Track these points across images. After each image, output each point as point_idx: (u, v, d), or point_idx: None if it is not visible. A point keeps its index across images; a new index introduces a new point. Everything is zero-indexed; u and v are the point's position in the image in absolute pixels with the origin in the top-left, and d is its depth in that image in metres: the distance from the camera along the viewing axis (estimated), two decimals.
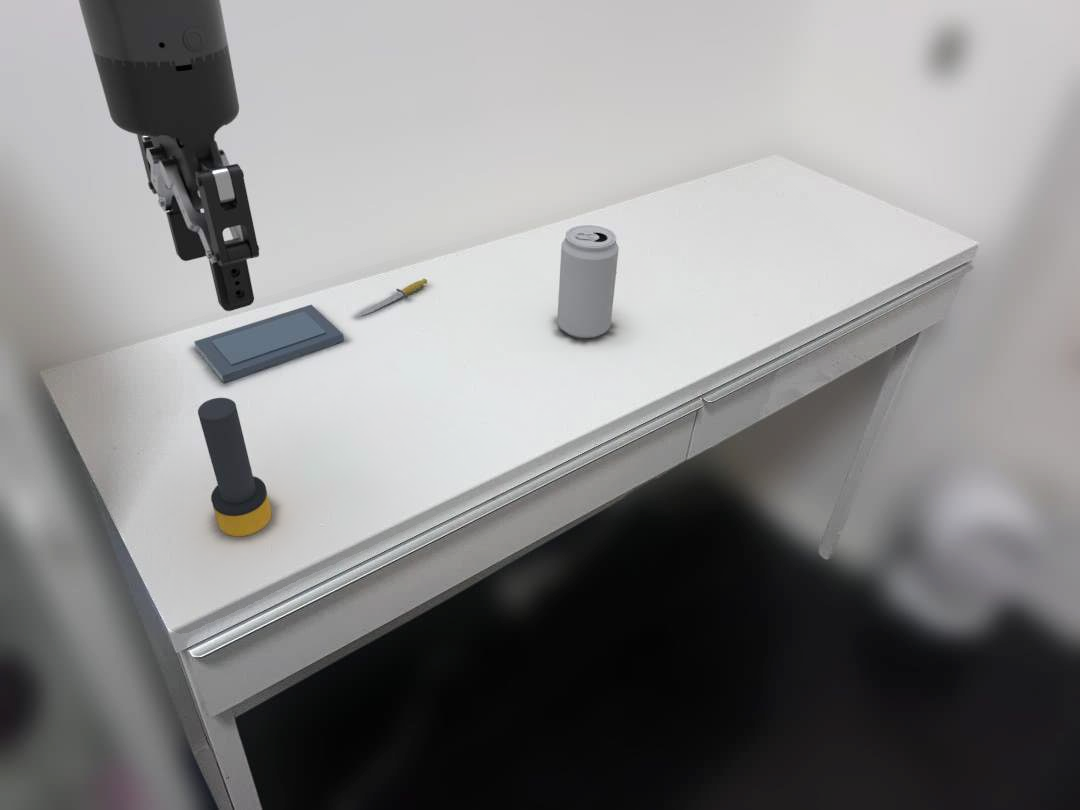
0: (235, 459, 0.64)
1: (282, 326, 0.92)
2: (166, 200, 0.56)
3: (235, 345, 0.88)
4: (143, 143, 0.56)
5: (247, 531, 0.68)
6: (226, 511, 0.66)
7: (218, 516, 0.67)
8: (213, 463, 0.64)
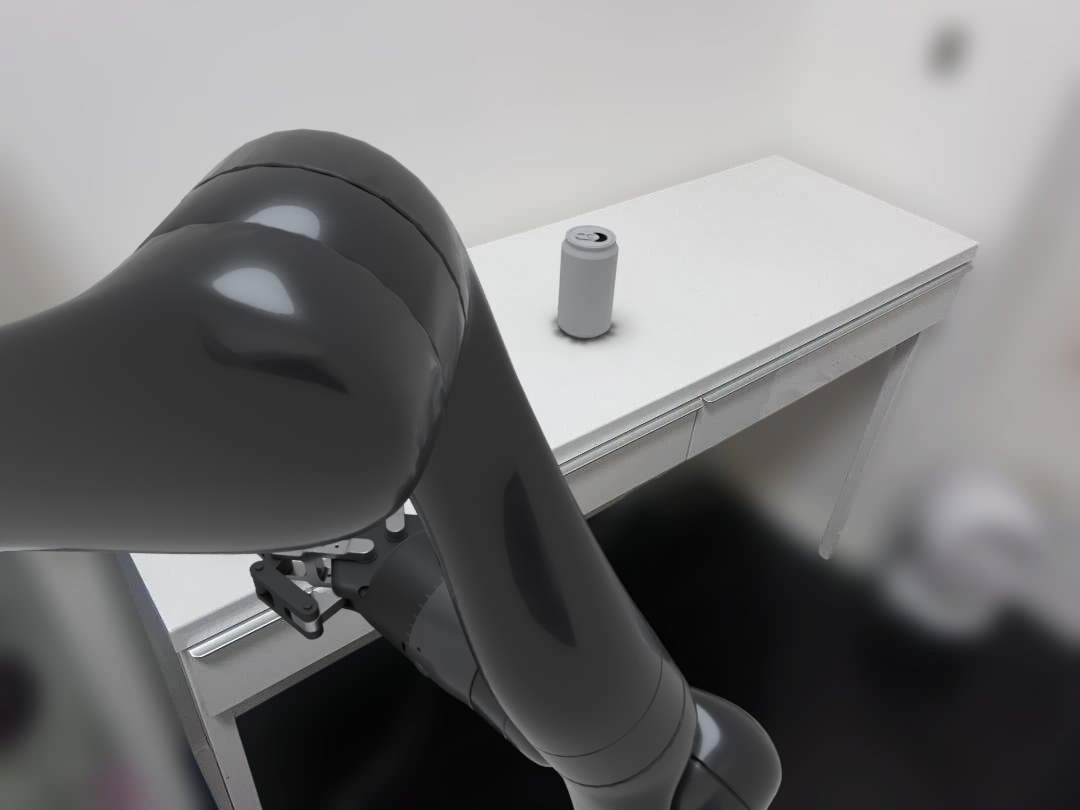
0: None
1: None
2: None
3: None
4: None
5: None
6: None
7: None
8: None
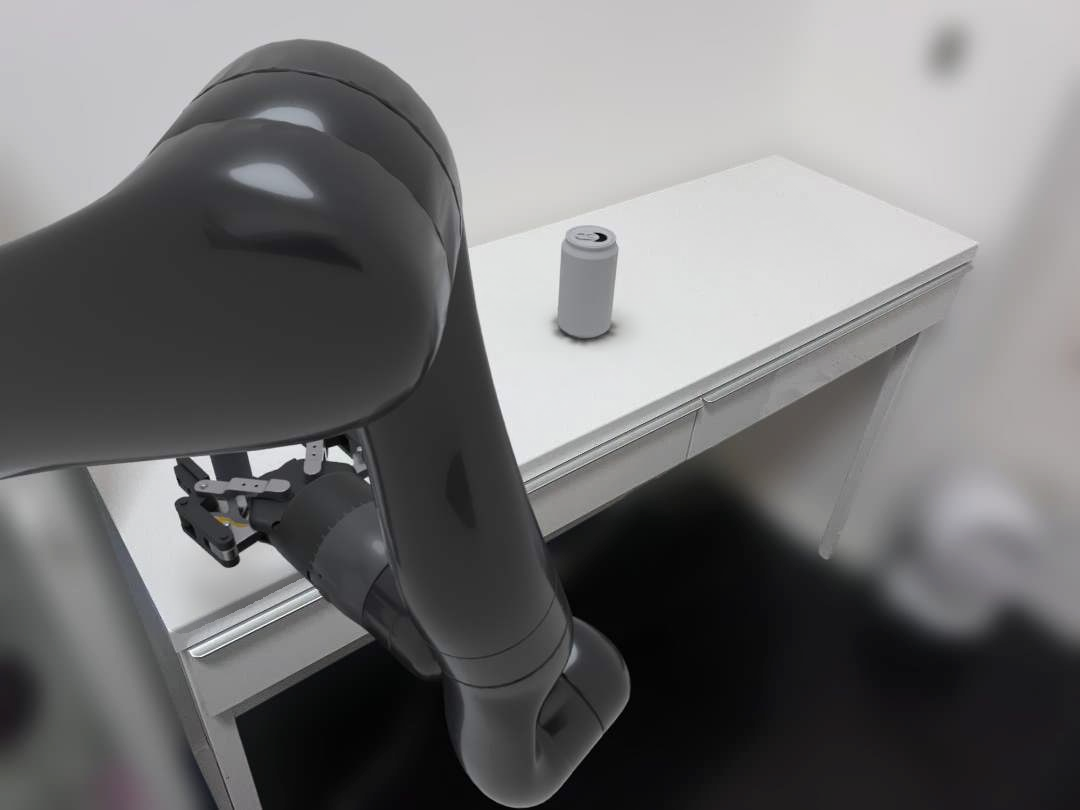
0: (235, 459, 0.64)
1: None
2: None
3: None
4: (359, 444, 0.61)
5: None
6: None
7: None
8: (213, 463, 0.64)
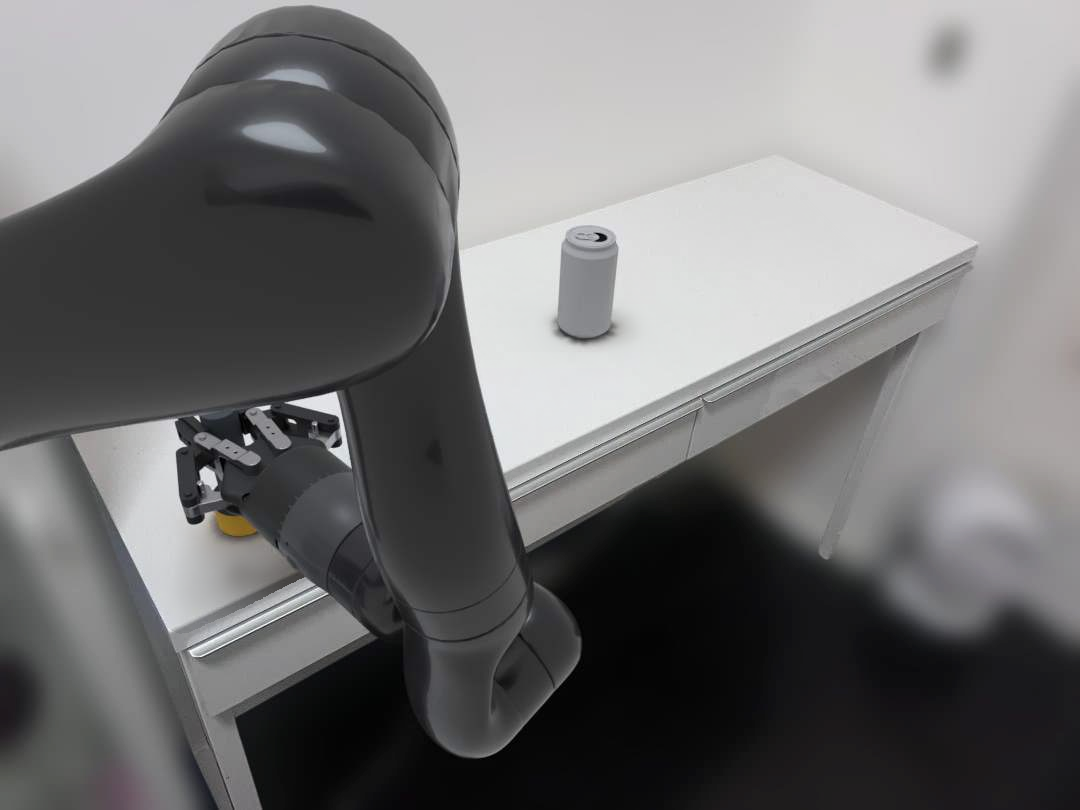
0: None
1: None
2: (252, 424, 0.62)
3: None
4: (311, 420, 0.63)
5: (247, 531, 0.68)
6: (226, 511, 0.66)
7: (218, 516, 0.67)
8: None
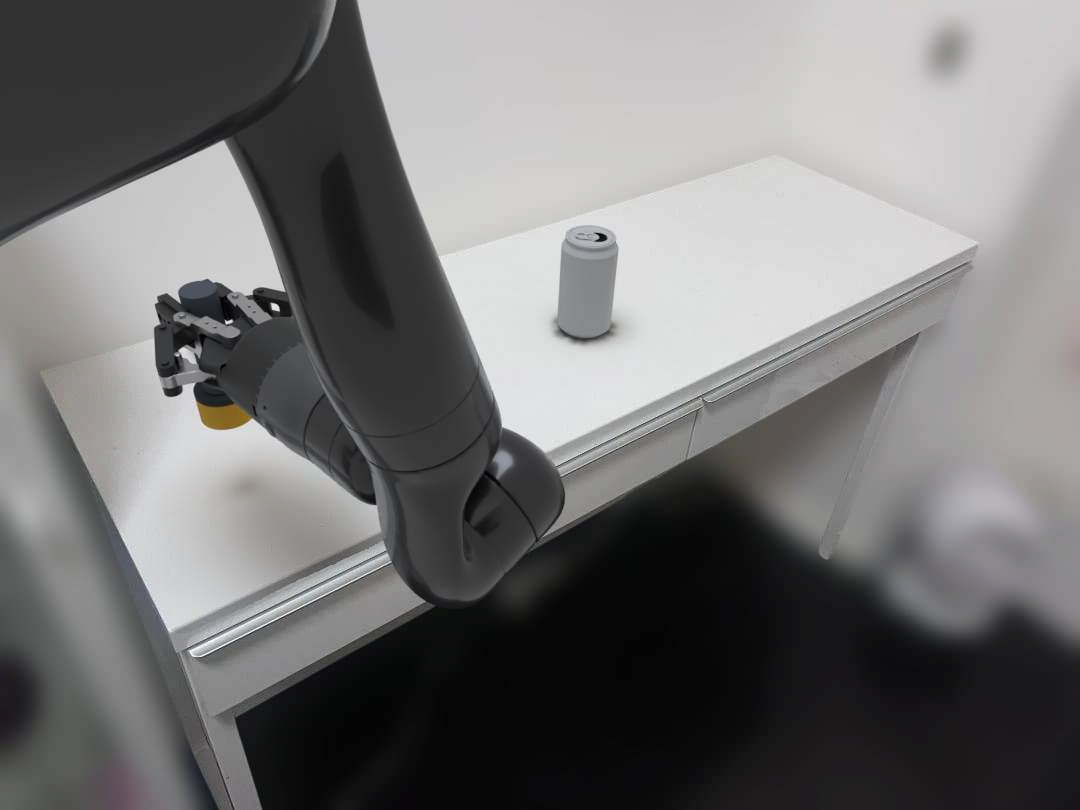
0: None
1: None
2: (233, 305, 0.61)
3: None
4: None
5: (230, 425, 0.66)
6: (208, 402, 0.65)
7: (200, 408, 0.66)
8: None
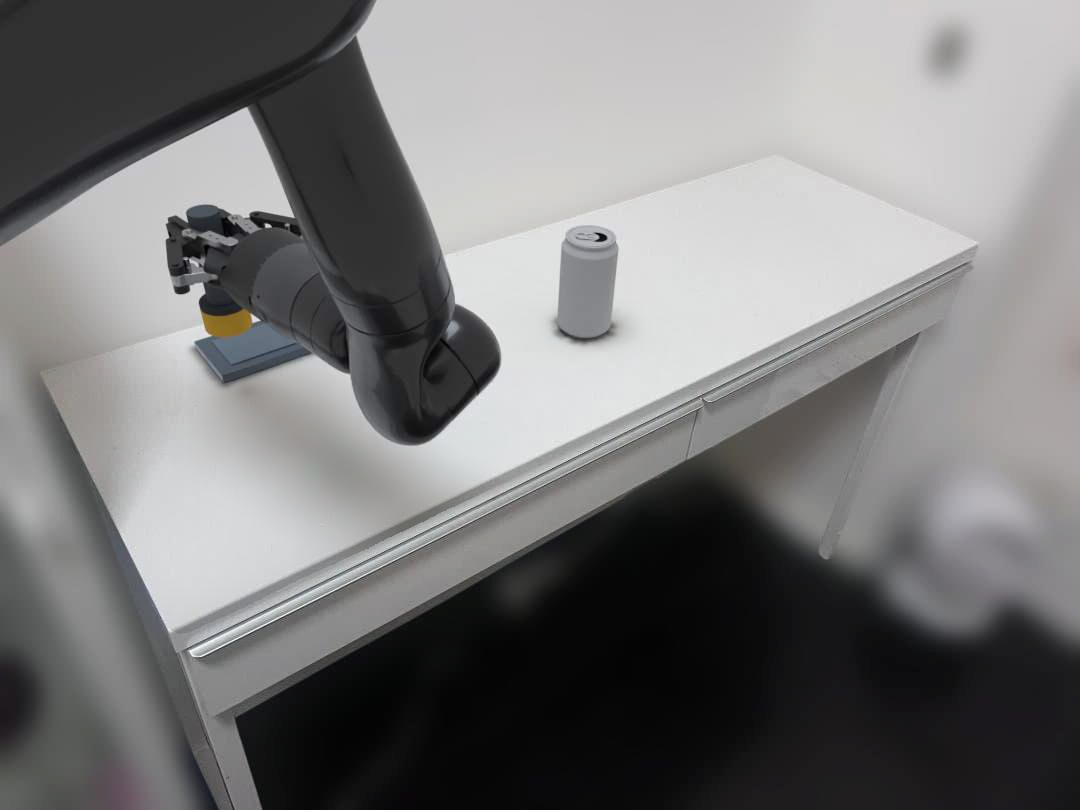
0: None
1: None
2: (233, 224, 0.72)
3: (235, 345, 0.88)
4: (284, 222, 0.72)
5: (230, 333, 0.77)
6: (211, 311, 0.75)
7: (205, 318, 0.76)
8: (200, 264, 0.74)
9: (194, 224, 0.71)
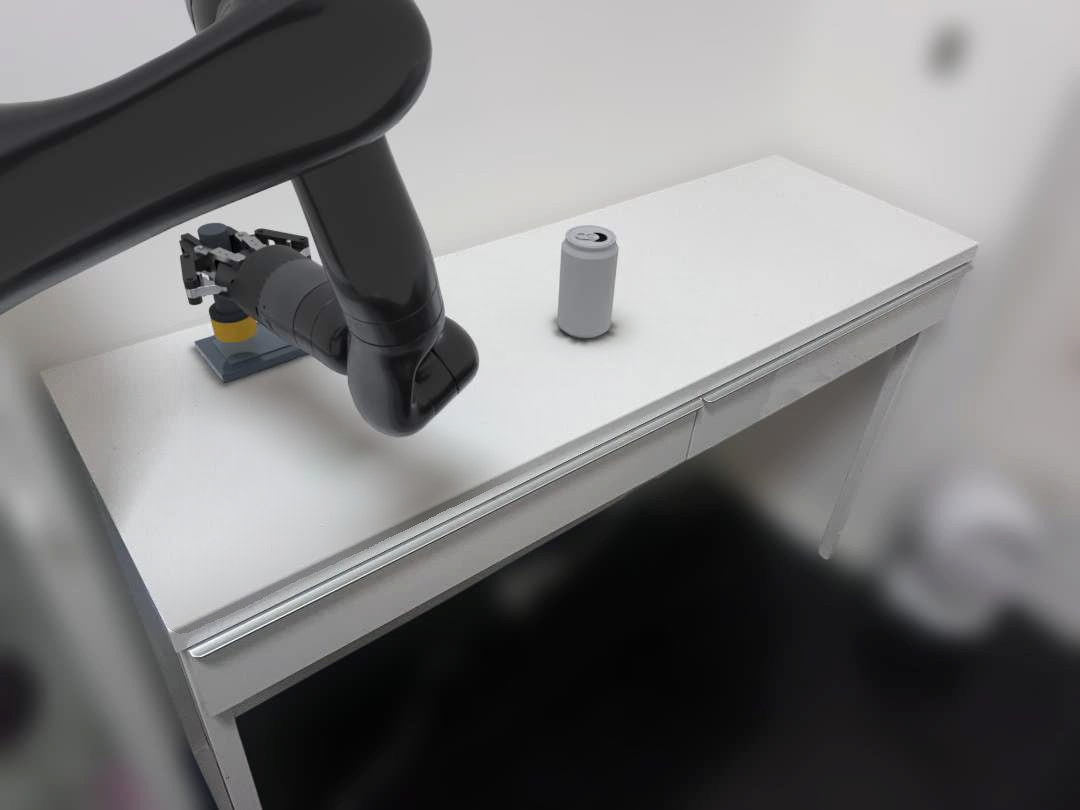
0: None
1: None
2: (240, 241, 0.80)
3: (235, 345, 0.88)
4: (286, 239, 0.80)
5: (237, 338, 0.85)
6: (221, 318, 0.83)
7: (214, 325, 0.84)
8: None
9: (205, 241, 0.79)
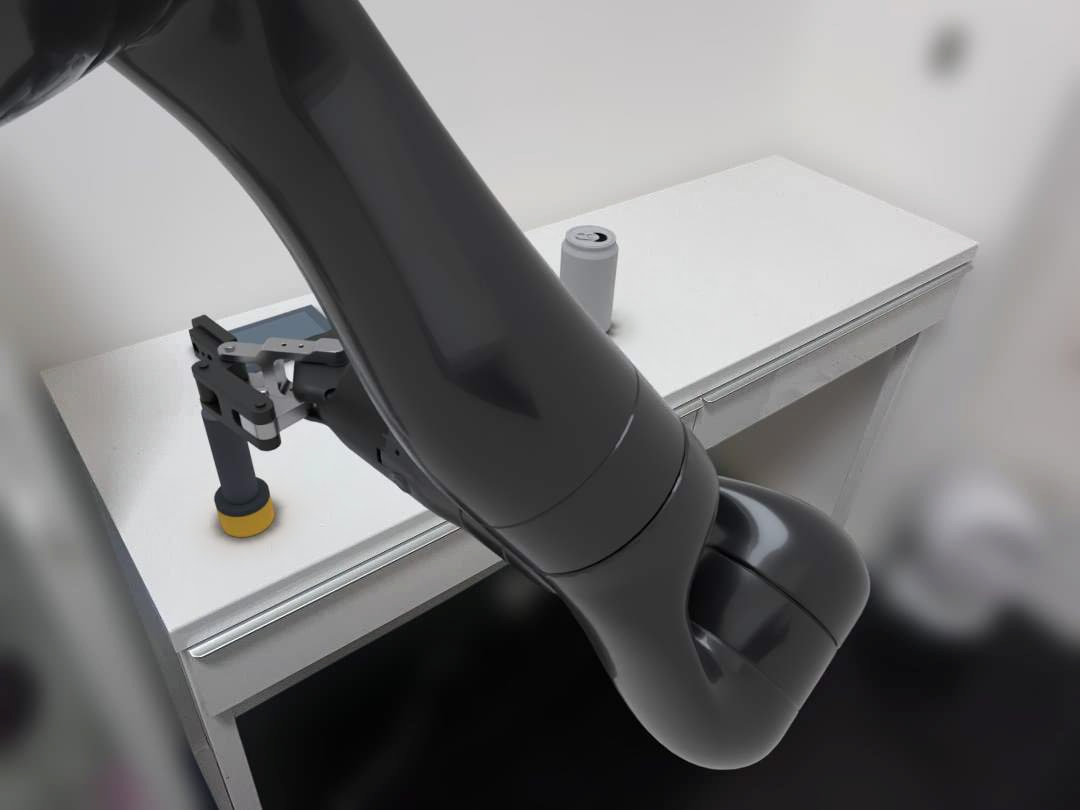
0: (238, 460, 0.64)
1: (282, 326, 0.92)
2: None
3: None
4: None
5: (249, 532, 0.68)
6: (229, 512, 0.66)
7: (221, 517, 0.67)
8: (216, 464, 0.64)
9: (210, 427, 0.62)
